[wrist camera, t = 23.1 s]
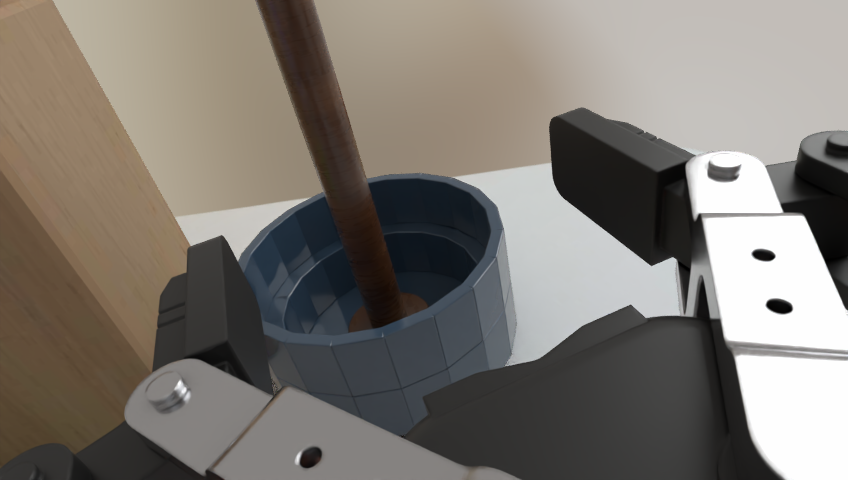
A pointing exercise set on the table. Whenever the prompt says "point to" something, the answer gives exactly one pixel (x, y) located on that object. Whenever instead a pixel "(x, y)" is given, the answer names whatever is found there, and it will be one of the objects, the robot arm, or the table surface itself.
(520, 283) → the table surface
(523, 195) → the table surface
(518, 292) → the table surface
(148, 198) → the wooden block
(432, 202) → the bowl
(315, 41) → the stirring stick
